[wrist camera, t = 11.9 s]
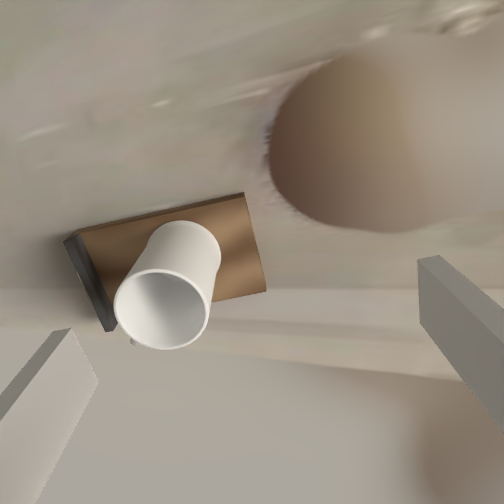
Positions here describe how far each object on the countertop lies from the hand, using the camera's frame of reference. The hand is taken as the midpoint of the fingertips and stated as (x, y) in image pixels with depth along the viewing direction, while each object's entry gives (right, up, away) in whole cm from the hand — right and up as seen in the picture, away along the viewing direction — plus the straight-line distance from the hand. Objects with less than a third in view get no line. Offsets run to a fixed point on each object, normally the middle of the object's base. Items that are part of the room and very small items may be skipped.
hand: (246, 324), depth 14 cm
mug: (-9, +1, +29) cm, 30 cm away
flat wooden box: (-9, +2, +30) cm, 32 cm away
